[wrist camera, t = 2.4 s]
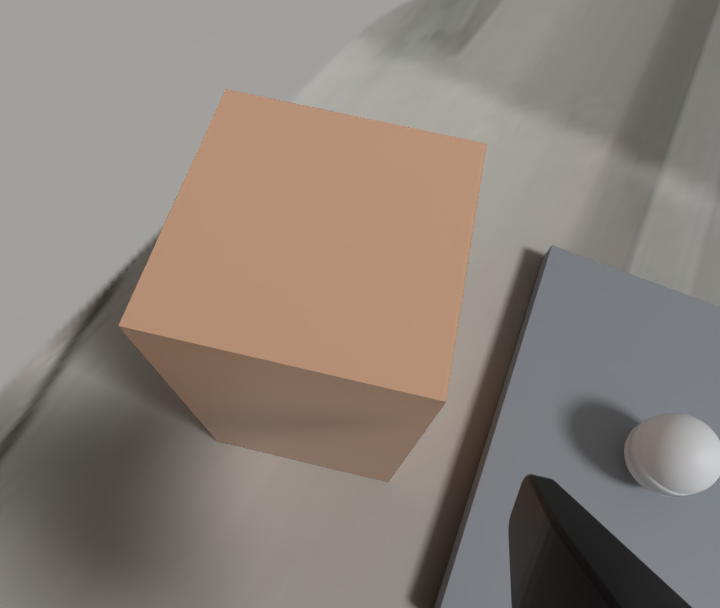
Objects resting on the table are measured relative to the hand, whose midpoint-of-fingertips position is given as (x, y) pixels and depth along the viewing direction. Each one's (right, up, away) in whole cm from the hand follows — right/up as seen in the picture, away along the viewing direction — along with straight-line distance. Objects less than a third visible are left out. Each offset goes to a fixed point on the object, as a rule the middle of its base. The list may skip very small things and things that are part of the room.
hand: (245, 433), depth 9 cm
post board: (+11, -4, +10) cm, 16 cm away
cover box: (+1, -1, +11) cm, 11 cm away
